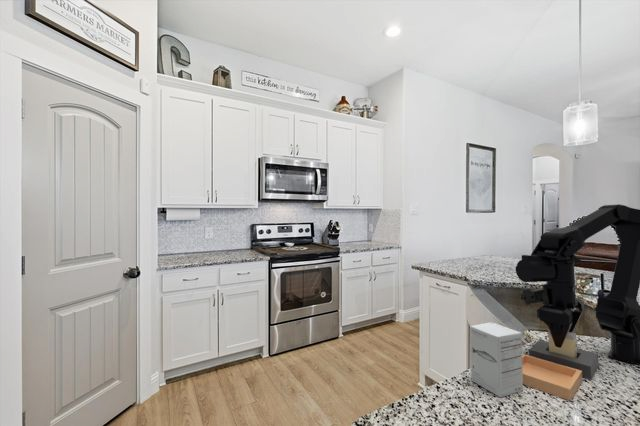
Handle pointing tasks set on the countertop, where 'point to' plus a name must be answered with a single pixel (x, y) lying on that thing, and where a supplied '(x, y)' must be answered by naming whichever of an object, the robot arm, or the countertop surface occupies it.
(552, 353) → the gray rectangular frame
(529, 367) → the parts tray
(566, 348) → the block
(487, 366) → the supplement box
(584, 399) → the countertop surface
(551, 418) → the countertop surface
